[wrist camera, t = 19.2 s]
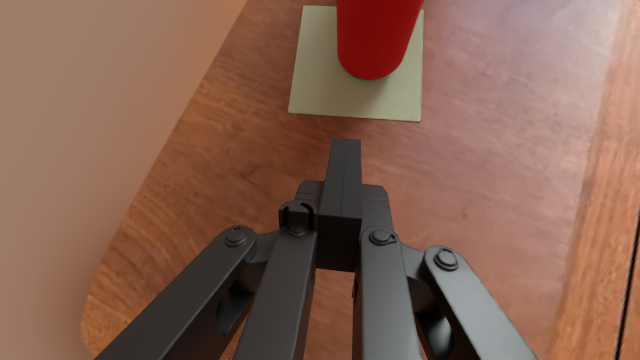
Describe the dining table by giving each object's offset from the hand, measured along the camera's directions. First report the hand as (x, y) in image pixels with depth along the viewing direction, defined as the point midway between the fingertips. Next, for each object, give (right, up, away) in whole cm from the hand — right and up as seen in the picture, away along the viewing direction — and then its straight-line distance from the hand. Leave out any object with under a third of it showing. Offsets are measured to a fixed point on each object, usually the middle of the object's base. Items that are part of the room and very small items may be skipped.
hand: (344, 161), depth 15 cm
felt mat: (+2, +10, +10) cm, 15 cm away
